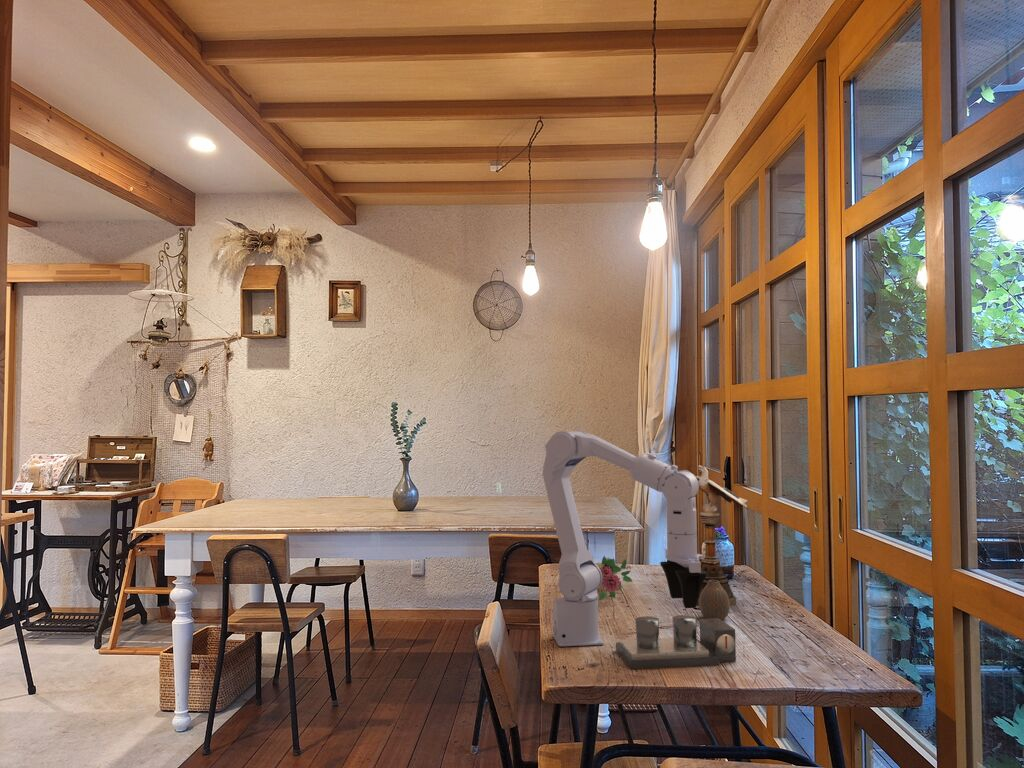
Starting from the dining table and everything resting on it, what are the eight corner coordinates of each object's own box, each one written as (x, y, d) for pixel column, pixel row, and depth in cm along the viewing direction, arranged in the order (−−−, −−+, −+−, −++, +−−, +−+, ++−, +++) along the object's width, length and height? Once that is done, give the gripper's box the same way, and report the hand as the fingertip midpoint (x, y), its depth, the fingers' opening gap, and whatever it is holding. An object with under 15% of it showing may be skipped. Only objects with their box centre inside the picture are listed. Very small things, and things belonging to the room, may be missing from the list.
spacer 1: (645, 650, 137) (643, 623, 138) (632, 644, 141) (631, 618, 142) (664, 646, 139) (663, 620, 139) (651, 640, 143) (650, 615, 143)
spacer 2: (679, 648, 138) (678, 621, 139) (670, 641, 143) (669, 615, 143) (700, 646, 139) (699, 620, 139) (691, 640, 144) (690, 614, 144)
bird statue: (744, 594, 191) (741, 461, 193) (761, 607, 178) (757, 464, 180) (681, 594, 191) (679, 462, 193) (694, 607, 178) (691, 465, 180)
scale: (630, 669, 134) (630, 636, 134) (615, 650, 145) (615, 620, 145) (739, 664, 136) (738, 631, 137) (716, 646, 147) (715, 616, 148)
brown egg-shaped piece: (709, 624, 163) (708, 585, 164) (693, 616, 170) (692, 578, 170) (736, 621, 165) (735, 582, 166) (719, 614, 172) (718, 576, 172)
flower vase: (612, 606, 209) (633, 610, 175) (571, 593, 210) (584, 594, 176) (623, 566, 212) (645, 562, 178) (582, 553, 213) (597, 547, 179)
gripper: (715, 538, 135) (717, 611, 135) (688, 526, 150) (689, 593, 149) (679, 539, 135) (680, 612, 134) (655, 527, 149) (656, 594, 148)
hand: (683, 602), depth 141 cm, fingers open, 7 cm apart
